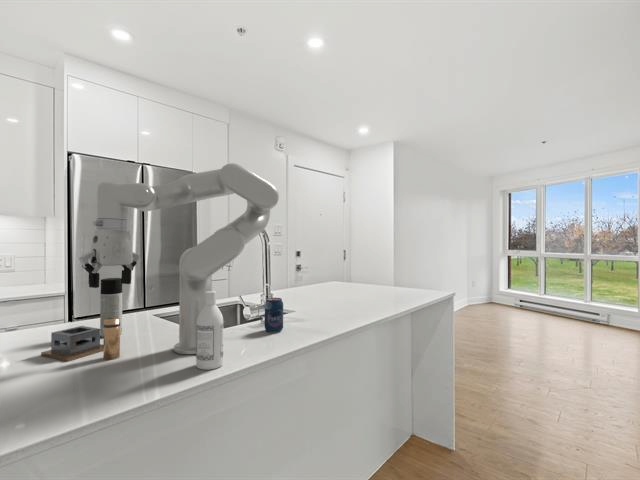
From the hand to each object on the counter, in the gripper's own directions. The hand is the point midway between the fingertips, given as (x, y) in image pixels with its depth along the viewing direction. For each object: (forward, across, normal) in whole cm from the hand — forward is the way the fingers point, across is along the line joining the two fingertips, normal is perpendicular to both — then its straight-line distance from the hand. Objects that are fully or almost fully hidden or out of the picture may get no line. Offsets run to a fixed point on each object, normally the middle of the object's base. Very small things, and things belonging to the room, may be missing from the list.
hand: (110, 285), depth 97 cm
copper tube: (+21, 0, 0) cm, 21 cm away
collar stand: (+21, 0, +14) cm, 25 cm away
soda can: (+20, +44, -28) cm, 57 cm away
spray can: (+21, +16, +22) cm, 34 cm away
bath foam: (+21, +6, -30) cm, 37 cm away
